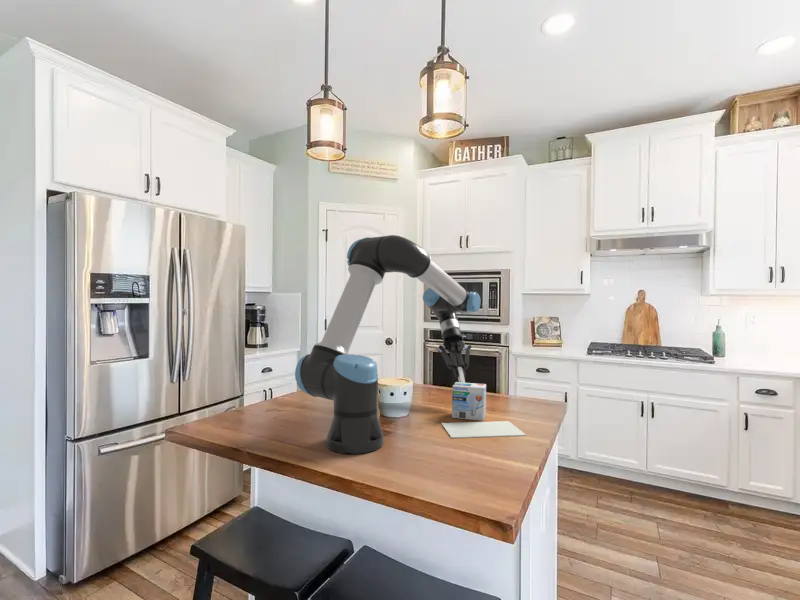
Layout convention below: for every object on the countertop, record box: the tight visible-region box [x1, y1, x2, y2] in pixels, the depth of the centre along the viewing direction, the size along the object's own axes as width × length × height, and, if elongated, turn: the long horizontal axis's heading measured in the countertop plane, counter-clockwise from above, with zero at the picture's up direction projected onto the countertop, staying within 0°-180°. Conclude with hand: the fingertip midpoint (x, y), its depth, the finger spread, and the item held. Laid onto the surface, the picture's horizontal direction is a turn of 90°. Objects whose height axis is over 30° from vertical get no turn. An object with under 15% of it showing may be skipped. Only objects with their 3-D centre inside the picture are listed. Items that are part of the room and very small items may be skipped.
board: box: [441, 420, 527, 439], centre depth 125 cm, size 22×13×1 cm, turn 97°
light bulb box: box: [451, 381, 487, 422], centre depth 138 cm, size 11×7×11 cm, turn 73°
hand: (462, 384), depth 147 cm, fingers closed
